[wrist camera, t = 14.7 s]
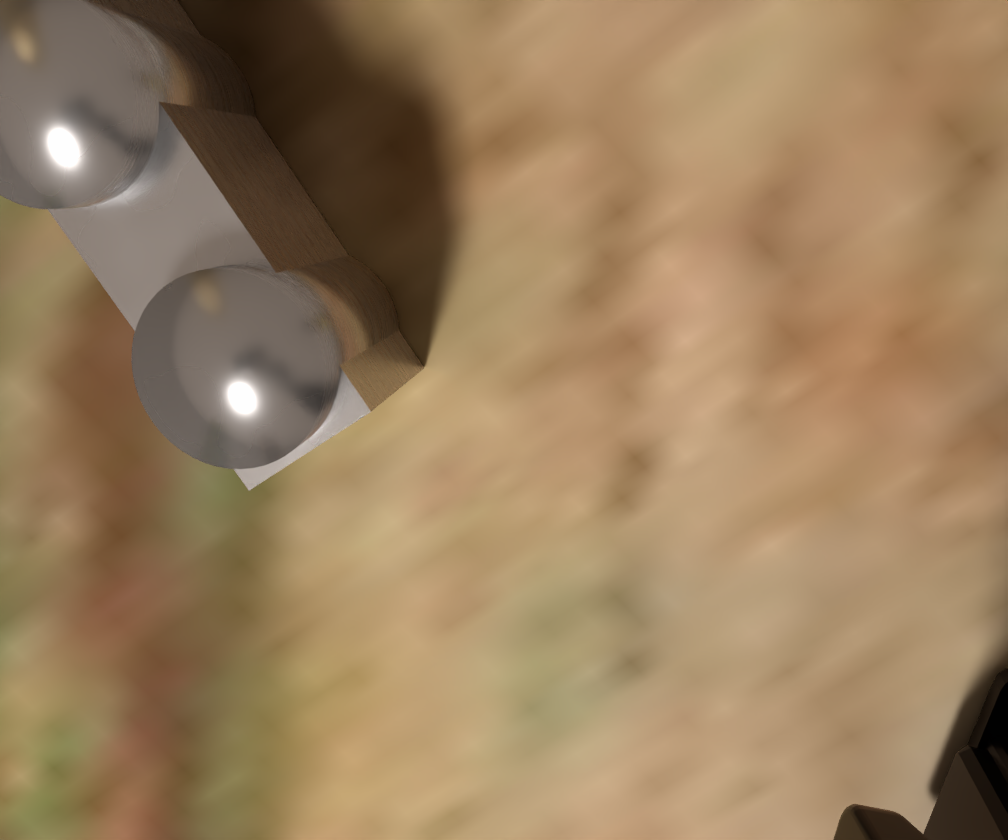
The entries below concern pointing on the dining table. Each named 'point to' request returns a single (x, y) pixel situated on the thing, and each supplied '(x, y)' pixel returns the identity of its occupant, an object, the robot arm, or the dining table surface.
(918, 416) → the dining table surface
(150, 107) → the chain joint
